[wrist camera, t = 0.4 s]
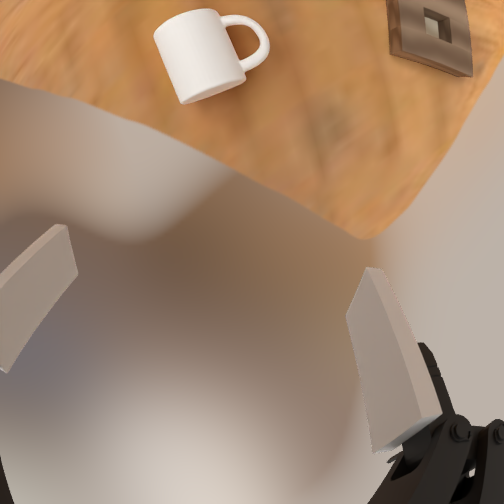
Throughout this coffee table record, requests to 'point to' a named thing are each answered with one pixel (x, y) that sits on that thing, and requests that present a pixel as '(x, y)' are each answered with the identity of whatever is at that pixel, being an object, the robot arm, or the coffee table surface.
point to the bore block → (431, 34)
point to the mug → (205, 53)
